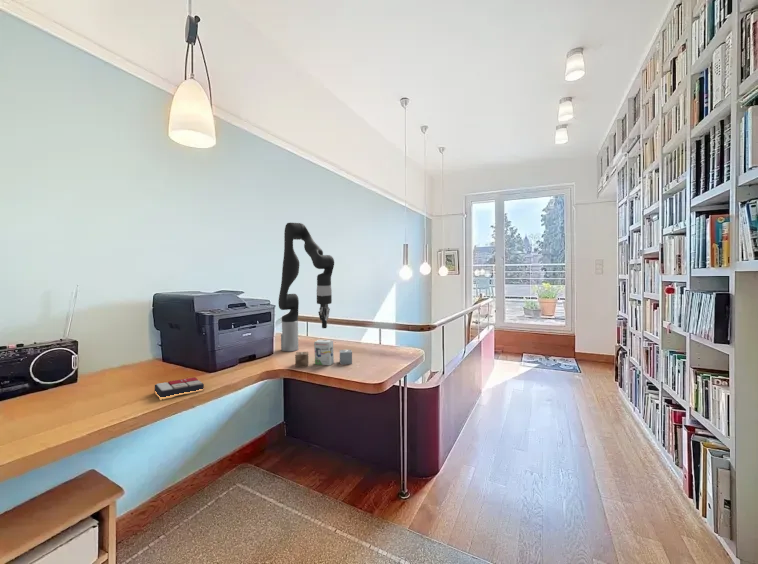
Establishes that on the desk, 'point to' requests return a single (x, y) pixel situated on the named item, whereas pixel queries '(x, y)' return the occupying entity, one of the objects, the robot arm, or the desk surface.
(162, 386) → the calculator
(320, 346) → the ink box
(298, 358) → the numbered block one
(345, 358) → the numbered block seven
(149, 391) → the desk surface
